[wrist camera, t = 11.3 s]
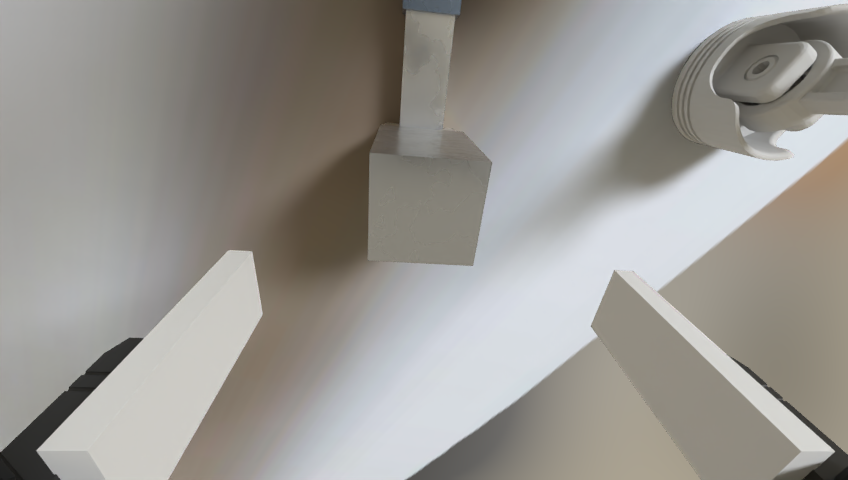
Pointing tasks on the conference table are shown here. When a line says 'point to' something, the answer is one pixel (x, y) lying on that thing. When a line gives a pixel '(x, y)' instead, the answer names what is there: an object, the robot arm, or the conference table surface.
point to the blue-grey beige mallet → (426, 62)
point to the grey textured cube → (425, 196)
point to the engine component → (764, 80)
